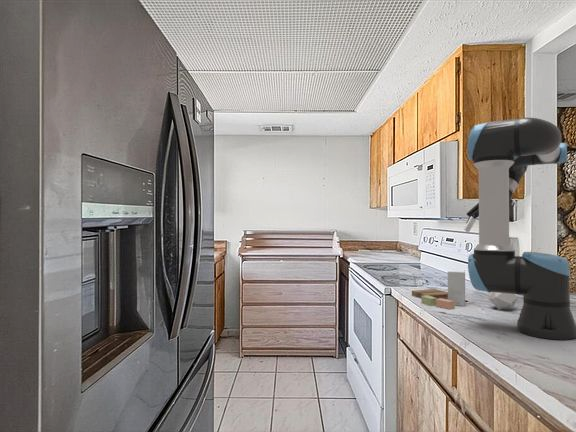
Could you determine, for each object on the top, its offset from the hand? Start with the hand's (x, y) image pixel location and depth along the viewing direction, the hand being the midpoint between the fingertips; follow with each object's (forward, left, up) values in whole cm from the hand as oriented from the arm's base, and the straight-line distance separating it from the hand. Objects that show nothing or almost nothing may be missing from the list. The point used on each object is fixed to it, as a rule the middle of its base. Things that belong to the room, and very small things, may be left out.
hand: (480, 233), depth 162 cm
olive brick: (+3, +22, -28) cm, 35 cm away
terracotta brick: (-4, +20, -28) cm, 34 cm away
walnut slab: (+14, +12, -28) cm, 33 cm away
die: (-13, +1, -28) cm, 31 cm away
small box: (0, +11, -28) cm, 30 cm away
